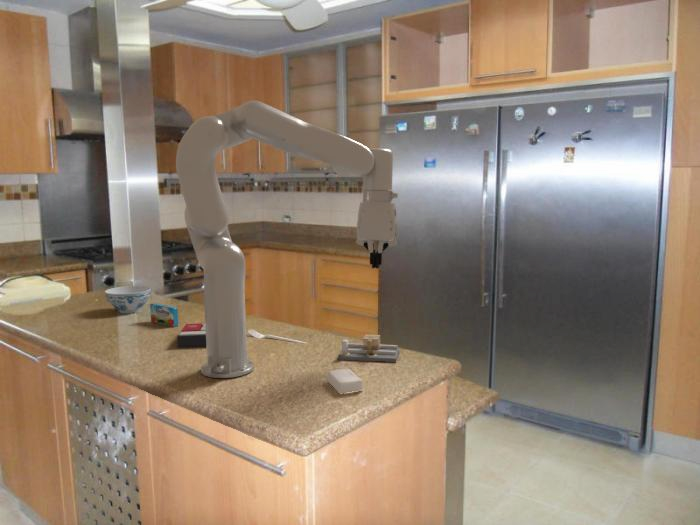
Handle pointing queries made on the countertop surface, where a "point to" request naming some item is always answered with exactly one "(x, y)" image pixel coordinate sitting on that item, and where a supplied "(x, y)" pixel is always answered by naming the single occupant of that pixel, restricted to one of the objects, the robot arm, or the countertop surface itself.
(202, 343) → the calculator
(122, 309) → the chinaware
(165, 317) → the blue thin box
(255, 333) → the fork
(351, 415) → the countertop surface
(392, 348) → the switch panel
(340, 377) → the soap
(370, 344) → the tan slider block
